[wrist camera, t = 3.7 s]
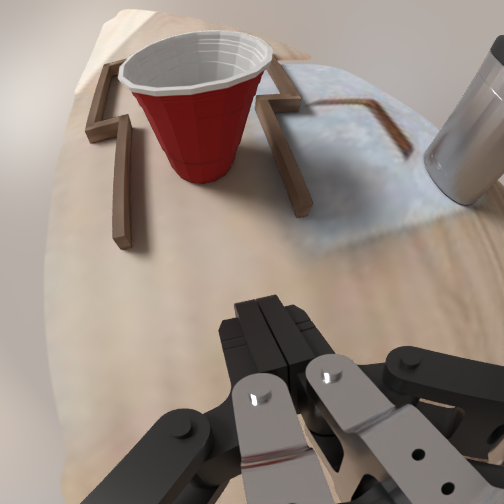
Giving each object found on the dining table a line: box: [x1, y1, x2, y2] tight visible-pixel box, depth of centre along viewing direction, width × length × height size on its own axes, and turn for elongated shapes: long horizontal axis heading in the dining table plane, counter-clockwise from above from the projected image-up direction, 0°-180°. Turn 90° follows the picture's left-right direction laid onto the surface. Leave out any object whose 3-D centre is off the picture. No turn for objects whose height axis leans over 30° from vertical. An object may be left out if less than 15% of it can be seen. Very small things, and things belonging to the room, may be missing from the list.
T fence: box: [85, 54, 313, 249], centre depth 28 cm, size 24×30×2 cm
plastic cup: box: [118, 30, 273, 183], centre depth 21 cm, size 11×11×12 cm
